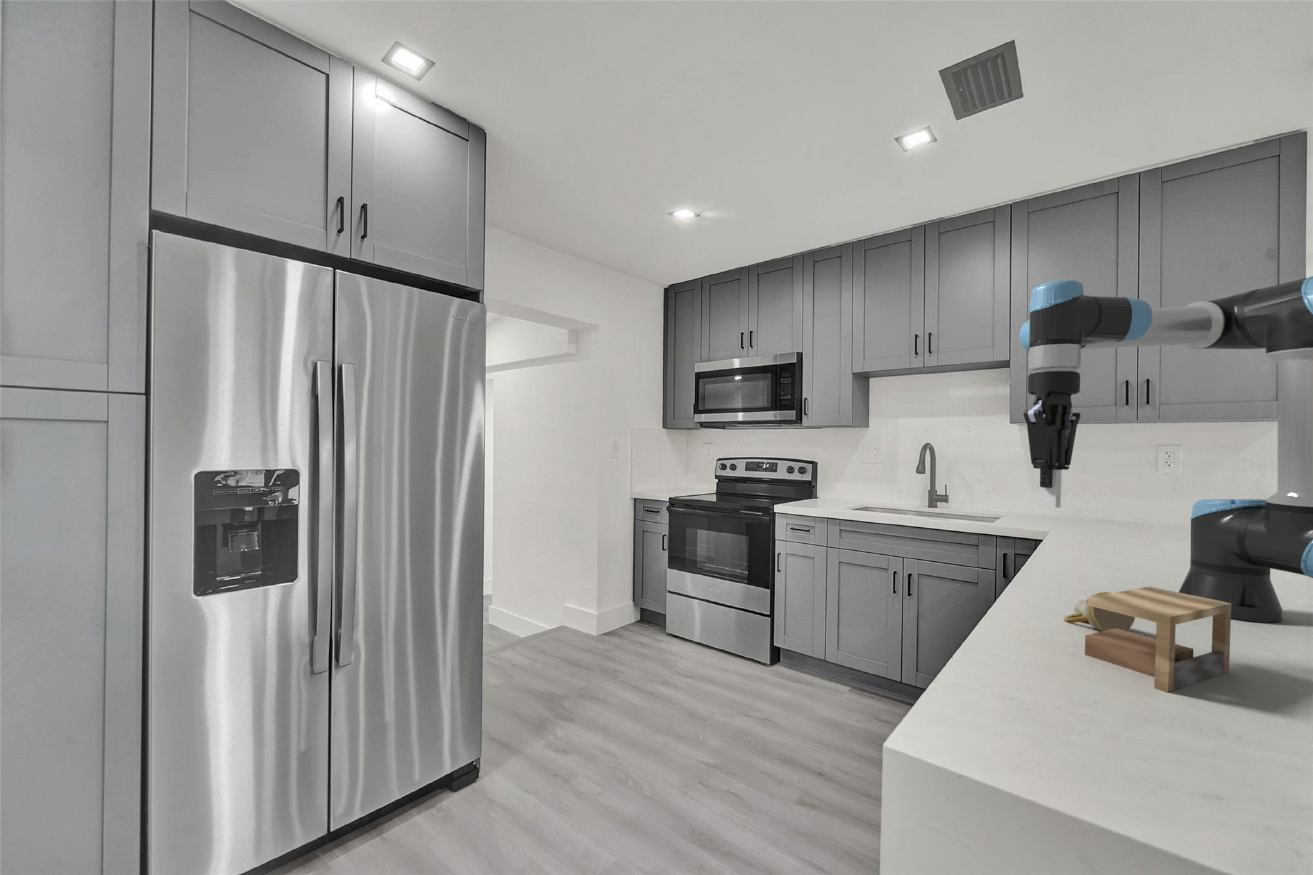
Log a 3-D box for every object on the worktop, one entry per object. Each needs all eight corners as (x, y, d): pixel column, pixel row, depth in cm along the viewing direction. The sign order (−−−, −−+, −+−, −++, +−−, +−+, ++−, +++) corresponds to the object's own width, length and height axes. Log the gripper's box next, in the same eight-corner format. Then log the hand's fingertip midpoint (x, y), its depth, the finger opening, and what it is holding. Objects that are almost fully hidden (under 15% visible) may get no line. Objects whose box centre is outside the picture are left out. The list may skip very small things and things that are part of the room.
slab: (1114, 649, 95) (1115, 628, 94) (1192, 672, 86) (1193, 648, 86) (1084, 657, 90) (1085, 635, 90) (1163, 682, 82) (1163, 657, 82)
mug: (1096, 619, 110) (1126, 581, 105) (1116, 658, 102) (1149, 619, 97) (1055, 606, 112) (1082, 568, 107) (1072, 643, 103) (1102, 604, 98)
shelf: (1147, 648, 94) (1149, 586, 94) (1229, 671, 85) (1231, 603, 85) (1085, 664, 86) (1087, 597, 86) (1167, 692, 77) (1170, 617, 77)
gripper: (1053, 376, 106) (1049, 503, 106) (1009, 371, 100) (1005, 505, 101) (1098, 372, 99) (1094, 508, 100) (1054, 367, 94) (1050, 510, 94)
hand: (1049, 506), depth 100 cm, fingers closed
